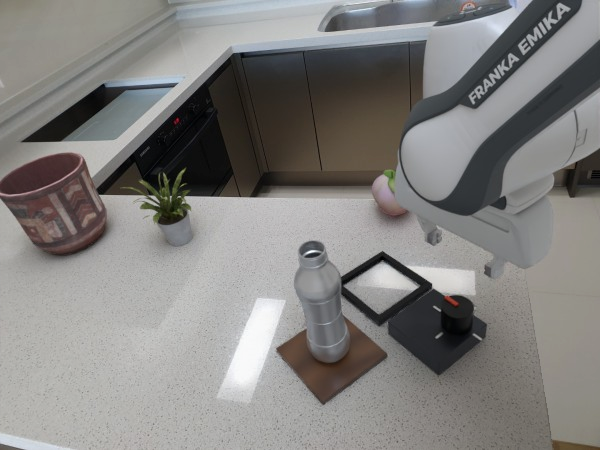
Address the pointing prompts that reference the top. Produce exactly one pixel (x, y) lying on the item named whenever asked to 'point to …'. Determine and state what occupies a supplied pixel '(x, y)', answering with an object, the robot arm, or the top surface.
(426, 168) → the robot arm
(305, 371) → the trivet
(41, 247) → the pottery
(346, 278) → the black flat square frame
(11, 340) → the top surface
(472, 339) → the panel
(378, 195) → the decorative fruit
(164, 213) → the house plant
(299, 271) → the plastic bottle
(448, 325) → the knob
